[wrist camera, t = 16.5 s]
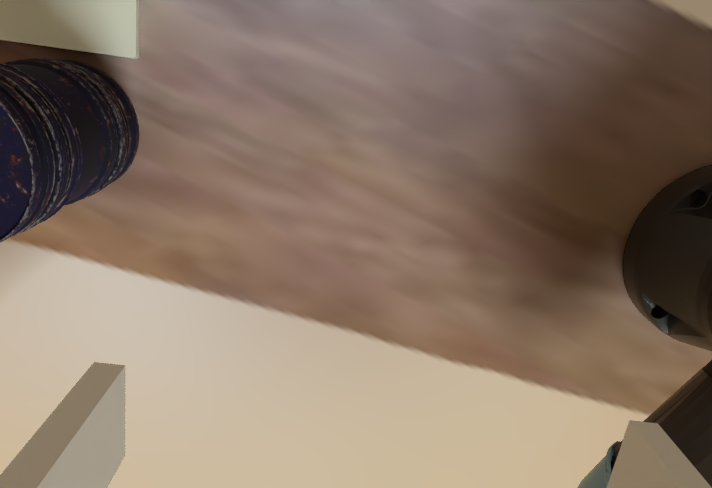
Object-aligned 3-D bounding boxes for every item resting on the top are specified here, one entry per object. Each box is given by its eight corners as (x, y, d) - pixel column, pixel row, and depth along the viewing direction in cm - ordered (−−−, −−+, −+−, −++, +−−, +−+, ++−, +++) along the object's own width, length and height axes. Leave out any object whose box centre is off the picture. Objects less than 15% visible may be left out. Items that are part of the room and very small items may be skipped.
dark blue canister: (58, 27, 40) (-103, 12, 26) (167, 125, 42) (75, 160, 28) (-19, 128, 42) (-206, 166, 28) (89, 216, 44) (-33, 291, 30)
